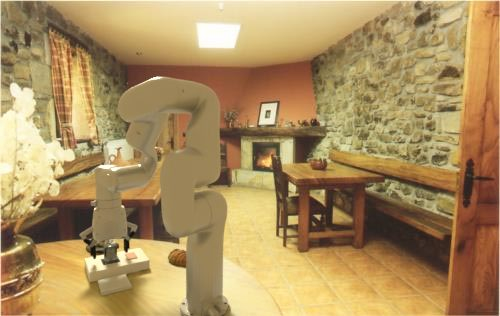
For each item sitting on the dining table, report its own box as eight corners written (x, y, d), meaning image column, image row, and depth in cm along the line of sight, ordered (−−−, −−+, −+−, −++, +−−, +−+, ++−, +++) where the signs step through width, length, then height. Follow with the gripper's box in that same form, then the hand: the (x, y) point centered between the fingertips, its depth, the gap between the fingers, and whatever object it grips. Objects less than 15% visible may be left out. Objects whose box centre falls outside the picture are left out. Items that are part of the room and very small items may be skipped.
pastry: (198, 263, 111) (198, 252, 111) (183, 269, 106) (183, 258, 106) (180, 255, 117) (180, 245, 117) (165, 261, 112) (165, 251, 111)
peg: (118, 270, 104) (118, 246, 103) (105, 273, 102) (104, 249, 101) (116, 265, 108) (115, 242, 107) (103, 268, 105) (102, 245, 105)
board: (149, 268, 106) (149, 259, 105) (89, 282, 96) (89, 271, 96) (140, 255, 116) (140, 246, 115) (84, 266, 106) (84, 257, 106)
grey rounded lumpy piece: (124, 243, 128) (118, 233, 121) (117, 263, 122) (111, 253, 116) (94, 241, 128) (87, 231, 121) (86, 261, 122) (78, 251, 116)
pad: (131, 288, 93) (131, 285, 93) (101, 295, 89) (101, 292, 89) (125, 276, 100) (125, 273, 100) (97, 283, 95) (97, 280, 95)
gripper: (79, 209, 95) (82, 264, 96) (139, 202, 104) (140, 252, 106) (77, 204, 101) (79, 255, 103) (133, 197, 110) (134, 245, 112)
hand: (110, 254), depth 104 cm, fingers open, 9 cm apart
